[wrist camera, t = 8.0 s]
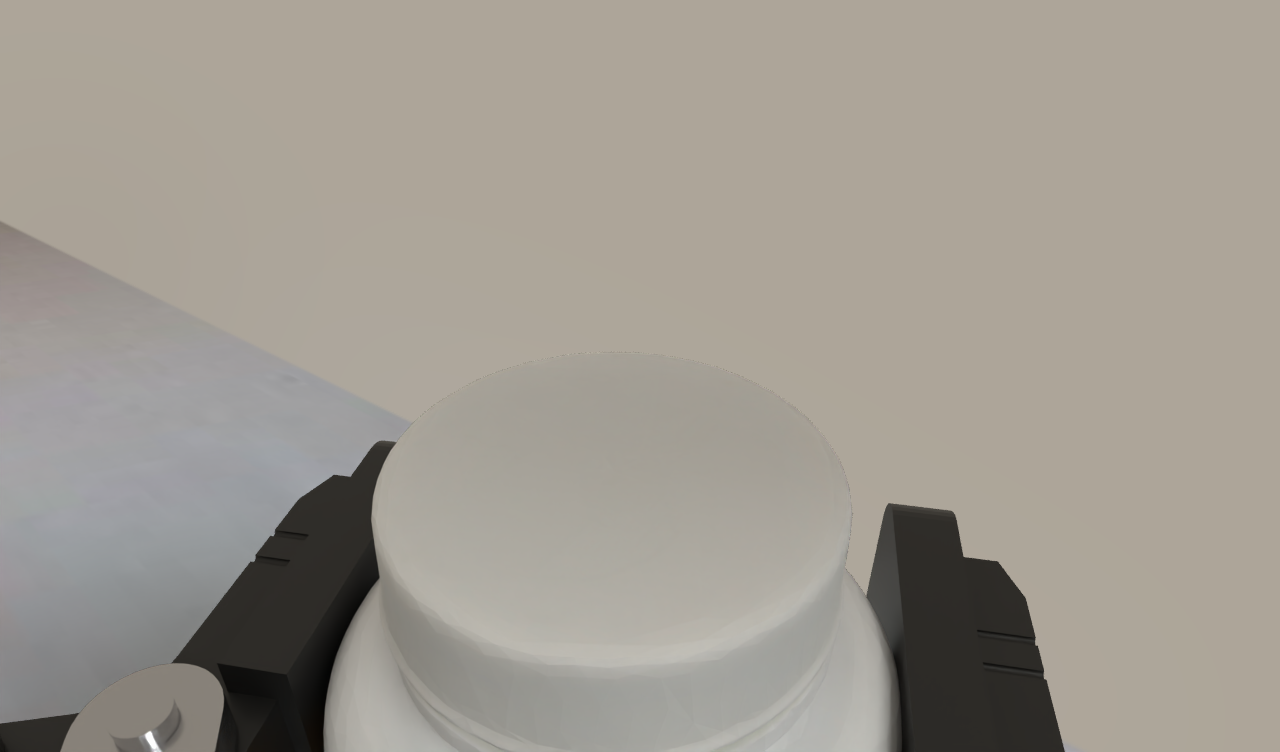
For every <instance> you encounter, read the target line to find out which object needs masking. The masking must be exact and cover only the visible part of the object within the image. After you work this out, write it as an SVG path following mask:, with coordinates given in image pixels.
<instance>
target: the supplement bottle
mask: <svg viewBox="0 0 1280 752" xmlns="http://www.w3.org/2000/svg"><path fill="white" fill-rule="evenodd" d="M371 522H372V529H373V537H374V544H375V550H376V557H377V563H378V570H379V576H380V578H379V579H378V581H377V582H376V583H375V584H374V586H373V587H372V588H371V589H370V591H369V593H368V594H367V596H366V597H365V599H364V600H363V602H362V604H361V605H360V607H359V608H358V610H357V612H356V613H355V615H354V617H353V619H352V621H351V623H350V625H349V627H348V629H347V631H346V633H345V635H344V637H343V640H342V642H341V645H340V647H339V650H338V652H337V655H336V658H335V661H334V665H333V669H332V673H331V677H330V682H329V686H328V691H327V698H326V704H325V715H324V729H323V736H324V752H901V751H902V726H901V725H902V721H901V701H900V688H899V679H898V674H897V668H896V663H895V660H894V656H893V653H892V650H891V647H890V645H889V642H888V640H887V637H886V634H885V632H884V629H883V627H882V625H881V623H880V621H879V619H878V617H877V615H876V613H875V611H874V609H873V608H872V606H871V604H870V602H869V600H868V599H867V597H866V596H865V594H864V592H863V591H862V589H861V588H860V586H859V585H858V584H857V582H856V581H855V579H854V578H853V577H852V575H851V574H850V573H849V572H848V571H847V570H846V569H845V564H846V559H847V553H848V546H849V540H850V533H851V523H852V507H851V497H850V491H849V486H848V482H847V479H846V476H845V472H844V469H843V467H842V465H841V463H840V461H839V459H838V457H837V455H836V453H835V452H834V450H833V448H832V447H831V445H830V444H829V442H828V441H827V439H826V438H825V437H824V435H823V434H822V433H821V432H820V431H819V430H818V429H817V428H816V427H815V426H814V425H813V423H812V422H811V421H810V420H809V419H808V418H807V417H806V416H805V415H803V414H802V413H801V412H800V411H799V410H798V409H797V408H796V407H794V406H793V405H791V404H790V403H789V402H787V401H786V400H784V399H783V398H781V397H780V396H778V395H777V394H775V393H774V392H772V391H771V390H769V389H766V388H765V387H762V386H761V385H759V384H757V383H755V382H752V381H750V380H748V379H746V378H744V377H741V376H739V375H737V374H734V373H732V372H729V371H726V370H724V369H721V368H718V367H715V366H711V365H708V364H704V363H700V362H696V361H692V360H687V359H682V358H677V357H671V356H664V355H657V354H647V353H631V352H601V353H578V354H570V355H562V356H557V357H552V358H547V359H542V360H537V361H531V362H527V363H524V364H521V365H517V366H514V367H511V368H507V369H504V370H501V371H498V372H495V373H493V374H490V375H488V376H485V377H483V378H480V379H478V380H476V381H474V382H472V383H470V384H469V385H467V386H465V387H463V388H461V389H460V390H458V391H456V392H454V393H453V394H451V395H449V396H447V397H446V398H444V399H442V400H441V401H439V402H438V403H437V404H435V405H433V406H432V407H431V408H430V409H428V410H427V411H426V412H425V413H424V414H422V415H421V416H420V417H419V418H418V419H417V420H415V421H414V422H413V423H412V425H411V426H410V427H409V428H408V429H407V430H406V431H405V433H404V434H403V435H402V436H401V437H400V439H399V440H398V441H397V443H396V444H395V445H394V447H393V448H392V449H391V451H390V452H389V454H388V456H387V458H386V460H385V462H384V464H383V467H382V469H381V472H380V474H379V477H378V479H377V483H376V487H375V491H374V495H373V504H372V517H371Z"/></svg>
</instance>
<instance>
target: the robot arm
mask: <svg viewBox="0 0 1280 752" xmlns="http://www.w3.org/2000/svg"><path fill="white" fill-rule="evenodd" d="M396 443H397V442H390V441H379V442H377V443H376V444H375V445H374V446H373V447H372V448H371V449H370V451H369V452H368V453H367V455H366V456H365V458H364V459H363V460H362V462H361V463H360V464H359V466H358V467H357V469H356V470H355V471H354V473H353V474H352V476H351V477H347V476H339V475H333V476H332V477H330V478H329V479H327V480H326V481H325V482H323V483H322V484H320V485H319V486H317V487H316V488H314V489H313V490H311V491H310V492H309V493H307V494H306V495H304V496H303V497H301V498H300V499H299V500H298V501H297V502H296V503H295V505H294V506H293V507H292V509H291V510H290V511H289V512H288V514H287V515H286V516H285V518H284V519H283V520H282V522H281V523H280V524H279V525H278V527H277V528H276V529H275V535H274V536H270V537H269V538H268V540H267V541H266V542H265V544H264V545H263V546H262V547H261V549H260V550H259V551H258V553H257V554H256V559H255V561H254V562H250V563H249V564H248V566H247V567H246V568H245V570H244V571H243V572H242V573H241V575H240V576H239V577H238V579H237V580H236V581H235V582H234V584H233V585H232V586H231V588H230V589H229V590H228V592H227V593H226V594H225V595H224V597H223V598H222V599H221V601H220V602H219V603H218V605H217V606H216V607H215V608H214V610H213V611H212V612H211V614H210V615H209V616H208V617H207V619H206V620H205V621H204V623H203V624H202V625H201V627H200V628H199V629H198V630H197V632H196V633H195V634H194V636H193V637H192V638H191V640H190V641H189V642H188V643H187V645H186V646H185V647H184V649H183V650H182V651H181V652H180V654H179V655H178V656H177V657H176V659H175V660H174V661H173V662H172V663H171V664H163V665H158V666H154V667H149V668H146V669H143V670H140V671H137V672H135V673H133V674H131V675H128V676H126V677H124V678H122V679H120V680H119V681H117V682H115V683H114V684H112V685H110V686H109V687H107V688H106V689H105V690H103V691H102V692H101V693H99V694H98V695H97V696H96V697H95V698H94V699H93V700H91V701H90V702H89V703H88V704H87V705H86V706H85V708H84V709H83V710H82V711H81V712H80V713H77V714H70V715H63V716H55V717H48V718H40V719H33V720H25V721H18V722H10V723H2V724H0V752H324V736H323V729H324V715H325V704H326V698H327V691H328V686H329V682H330V677H331V673H332V669H333V665H334V661H335V658H336V655H337V652H338V650H339V647H340V645H341V642H342V640H343V637H344V635H345V633H346V631H347V629H348V627H349V625H350V623H351V621H352V619H353V617H354V615H355V613H356V612H357V610H358V608H359V607H360V605H361V604H362V602H363V600H364V599H365V597H366V596H367V594H368V593H369V591H370V589H371V588H372V587H373V586H374V584H375V583H376V582H377V581H378V579H379V578H380V576H379V570H378V563H377V557H376V550H375V544H374V537H373V529H372V522H371V517H372V504H373V495H374V491H375V487H376V483H377V479H378V477H379V474H380V472H381V469H382V467H383V464H384V462H385V460H386V458H387V456H388V454H389V452H390V451H391V449H392V448H393V447H394V445H395V444H396ZM867 599H868V600H869V602H870V604H871V606H872V608H873V609H874V611H875V613H876V615H877V617H878V619H879V621H880V623H881V625H882V627H883V629H884V632H885V634H886V637H887V640H888V642H889V645H890V647H891V650H892V653H893V656H894V660H895V663H896V668H897V674H898V679H899V688H900V701H901V721H902V725H901V726H902V751H901V752H1065V751H1064V747H1063V743H1062V739H1061V735H1060V731H1059V727H1058V723H1057V720H1056V716H1055V712H1054V708H1053V704H1052V700H1051V696H1050V692H1049V689H1048V684H1047V680H1045V679H1044V676H1043V674H1044V668H1043V665H1042V661H1041V657H1040V653H1039V649H1038V646H1036V645H1035V638H1036V637H1035V633H1034V629H1033V626H1032V621H1031V618H1030V614H1029V610H1028V606H1027V602H1026V598H1025V597H1024V596H1023V594H1022V593H1021V591H1020V590H1019V589H1018V587H1017V586H1016V585H1015V584H1014V582H1013V581H1012V580H1011V579H1010V577H1009V576H1008V575H1007V573H1006V572H1005V570H1004V569H1003V568H1002V566H1001V565H1000V564H999V562H997V561H990V560H981V559H974V558H965V557H963V552H962V547H961V542H960V536H959V531H958V526H957V520H956V517H955V514H954V513H953V512H952V511H948V510H939V509H931V508H923V507H915V506H907V505H899V504H890V503H889V504H888V505H887V507H886V509H885V512H884V516H883V521H882V526H881V530H880V535H879V540H878V544H877V550H876V554H875V559H874V563H873V568H872V572H871V577H870V582H869V587H868V591H867Z"/></svg>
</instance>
